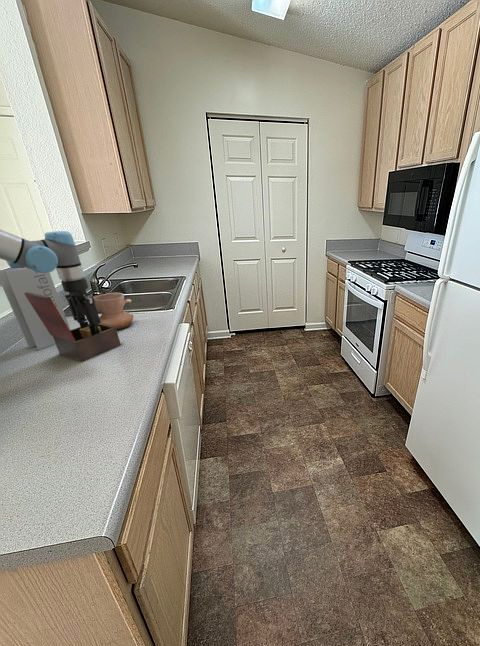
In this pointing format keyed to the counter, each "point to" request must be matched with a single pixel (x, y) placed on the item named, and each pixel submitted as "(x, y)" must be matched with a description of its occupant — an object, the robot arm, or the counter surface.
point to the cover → (50, 316)
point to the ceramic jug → (113, 310)
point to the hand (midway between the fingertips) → (93, 339)
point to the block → (87, 332)
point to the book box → (88, 343)
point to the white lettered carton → (26, 316)
